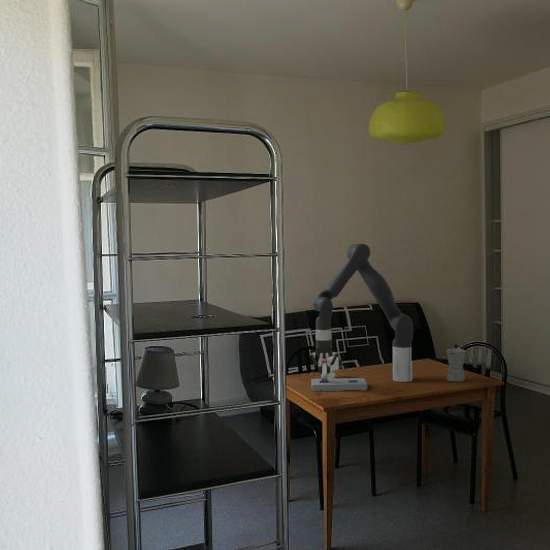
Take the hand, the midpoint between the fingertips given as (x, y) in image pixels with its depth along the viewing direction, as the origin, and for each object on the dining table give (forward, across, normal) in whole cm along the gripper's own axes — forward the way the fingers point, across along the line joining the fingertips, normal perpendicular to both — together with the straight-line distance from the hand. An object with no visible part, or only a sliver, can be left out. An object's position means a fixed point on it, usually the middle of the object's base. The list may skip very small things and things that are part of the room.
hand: (324, 373), depth 301 cm
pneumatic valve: (+7, -4, -19) cm, 21 cm away
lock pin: (+5, 0, 0) cm, 5 cm away
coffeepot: (+8, -67, -12) cm, 68 cm away
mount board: (+7, -7, 0) cm, 10 cm away
